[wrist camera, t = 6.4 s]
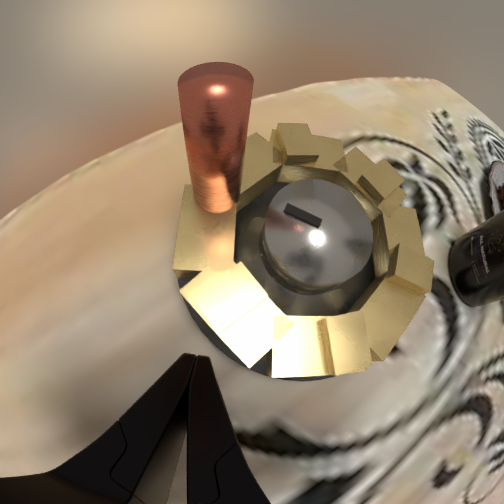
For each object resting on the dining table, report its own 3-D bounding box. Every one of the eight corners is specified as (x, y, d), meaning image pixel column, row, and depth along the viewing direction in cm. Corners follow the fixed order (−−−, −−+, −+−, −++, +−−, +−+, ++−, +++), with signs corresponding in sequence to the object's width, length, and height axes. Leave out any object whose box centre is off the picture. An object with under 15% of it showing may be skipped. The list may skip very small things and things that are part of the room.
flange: (401, 373, 16) (444, 373, 11) (163, 365, 15) (139, 371, 10) (386, 179, 21) (413, 147, 17) (201, 149, 20) (198, 105, 16)
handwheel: (414, 360, 14) (534, 345, 6) (172, 368, 13) (91, 392, 4) (387, 167, 20) (447, 85, 11) (199, 144, 18) (192, 26, 10)
